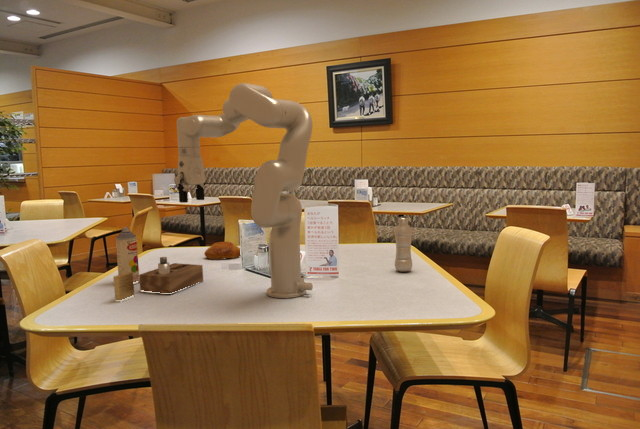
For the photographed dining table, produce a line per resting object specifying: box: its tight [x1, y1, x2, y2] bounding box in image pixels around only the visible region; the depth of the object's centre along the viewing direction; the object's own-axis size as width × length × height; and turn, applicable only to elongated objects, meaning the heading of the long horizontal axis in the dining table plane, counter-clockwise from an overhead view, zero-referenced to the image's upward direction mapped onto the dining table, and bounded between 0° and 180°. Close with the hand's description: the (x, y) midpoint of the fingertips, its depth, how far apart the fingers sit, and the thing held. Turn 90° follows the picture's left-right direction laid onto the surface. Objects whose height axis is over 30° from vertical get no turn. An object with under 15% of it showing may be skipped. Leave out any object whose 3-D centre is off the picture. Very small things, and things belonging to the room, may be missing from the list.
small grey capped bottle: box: [157, 256, 170, 274], centre depth 165 cm, size 4×4×11 cm
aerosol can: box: [115, 226, 140, 282], centre depth 175 cm, size 7×7×20 cm
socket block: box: [139, 262, 204, 293], centre depth 169 cm, size 12×18×6 cm, turn 158°
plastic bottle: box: [394, 216, 413, 273], centre depth 182 cm, size 6×7×20 cm
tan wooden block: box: [113, 272, 135, 300], centre depth 155 cm, size 2×6×8 cm, turn 158°
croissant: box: [204, 241, 241, 260], centre depth 219 cm, size 14×16×8 cm
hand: (192, 201), depth 177 cm, fingers open, 9 cm apart
